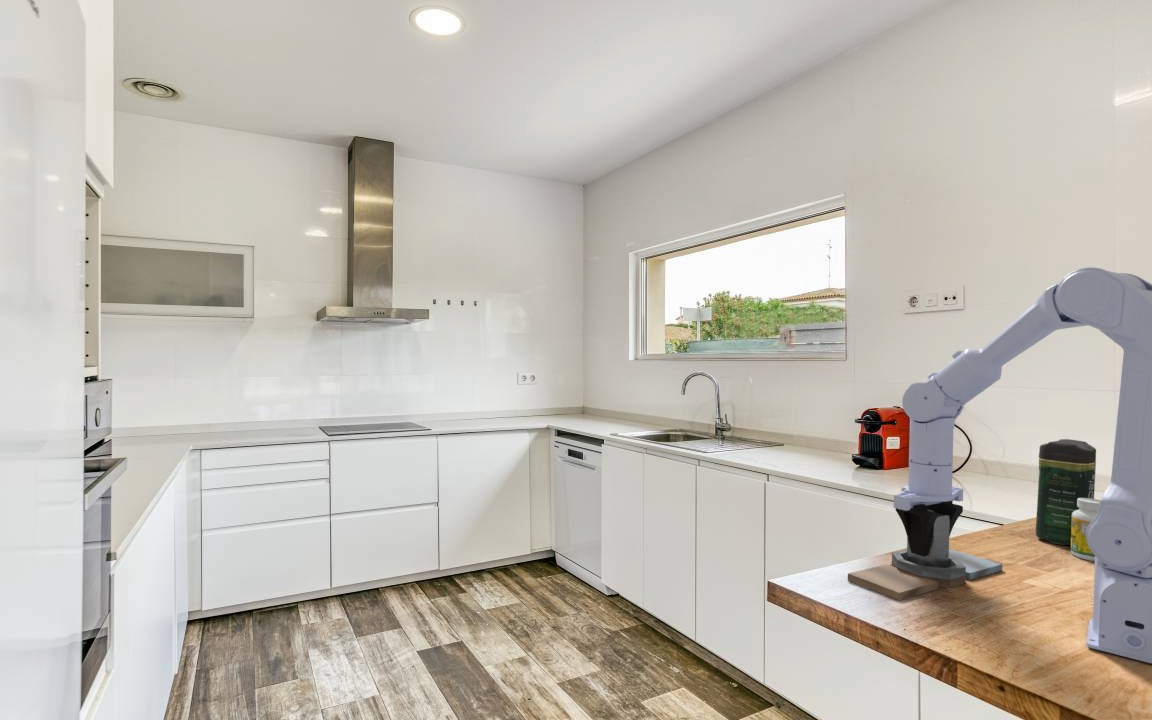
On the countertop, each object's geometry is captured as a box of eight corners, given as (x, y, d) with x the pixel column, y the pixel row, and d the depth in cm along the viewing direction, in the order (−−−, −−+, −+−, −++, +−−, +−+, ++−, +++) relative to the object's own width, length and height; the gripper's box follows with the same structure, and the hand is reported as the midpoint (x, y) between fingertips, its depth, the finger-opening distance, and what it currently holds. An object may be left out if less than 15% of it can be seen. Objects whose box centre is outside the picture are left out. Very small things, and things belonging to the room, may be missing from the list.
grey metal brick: (932, 571, 90) (934, 517, 90) (906, 563, 94) (908, 511, 93) (948, 567, 92) (949, 514, 92) (922, 559, 95) (923, 508, 95)
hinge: (902, 601, 82) (903, 583, 82) (844, 579, 90) (844, 562, 90) (1005, 571, 95) (1006, 556, 95) (946, 554, 103) (947, 540, 103)
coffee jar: (1085, 551, 106) (1088, 444, 106) (1030, 539, 112) (1033, 438, 112) (1098, 541, 112) (1101, 440, 112) (1045, 531, 119) (1048, 435, 118)
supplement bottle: (1110, 565, 99) (1112, 506, 99) (1068, 557, 103) (1070, 500, 103) (1112, 557, 103) (1114, 500, 103) (1072, 550, 107) (1073, 495, 107)
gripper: (932, 455, 100) (930, 538, 100) (875, 461, 93) (873, 551, 93) (978, 462, 93) (975, 551, 94) (921, 469, 86) (918, 565, 87)
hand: (927, 552), depth 93 cm, fingers closed on grey metal brick, 4 cm apart
